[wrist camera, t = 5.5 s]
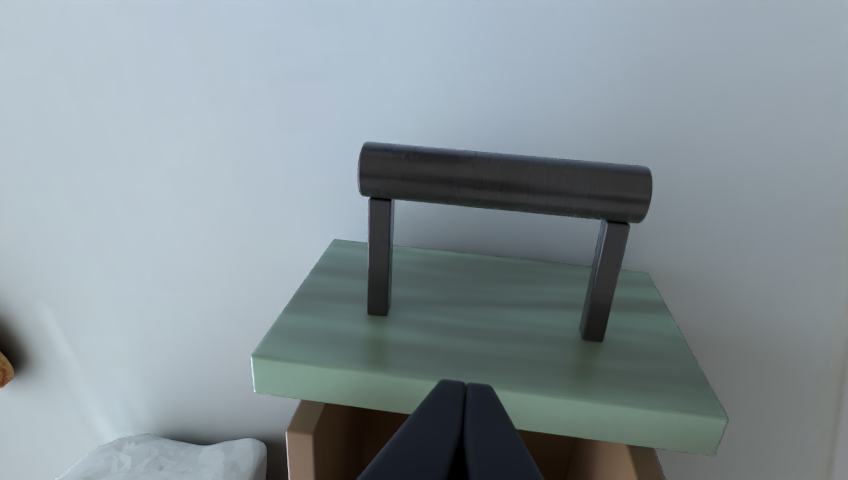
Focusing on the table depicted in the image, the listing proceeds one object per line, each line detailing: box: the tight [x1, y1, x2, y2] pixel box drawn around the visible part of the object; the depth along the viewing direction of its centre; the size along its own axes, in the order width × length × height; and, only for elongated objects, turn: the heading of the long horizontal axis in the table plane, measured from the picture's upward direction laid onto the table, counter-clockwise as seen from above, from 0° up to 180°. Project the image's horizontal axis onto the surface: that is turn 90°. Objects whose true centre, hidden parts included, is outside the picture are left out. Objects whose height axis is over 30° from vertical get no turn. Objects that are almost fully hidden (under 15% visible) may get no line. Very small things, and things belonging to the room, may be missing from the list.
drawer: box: [251, 142, 728, 480], centre depth 18 cm, size 18×11×7 cm, turn 177°
